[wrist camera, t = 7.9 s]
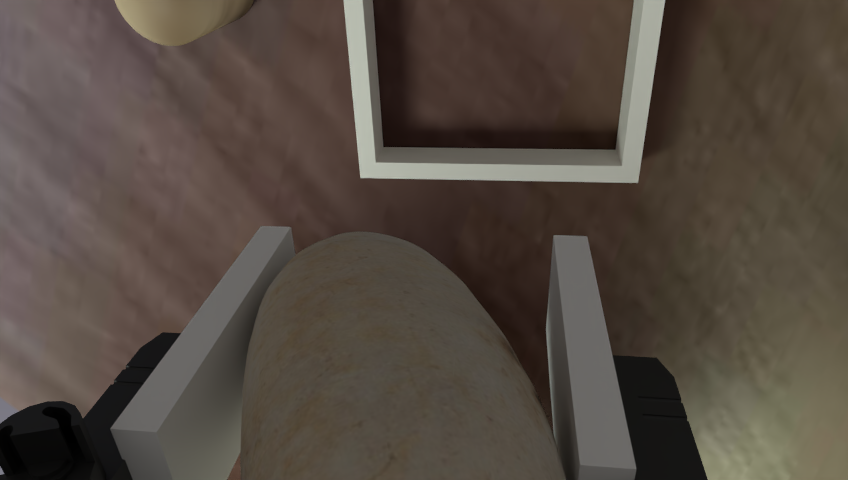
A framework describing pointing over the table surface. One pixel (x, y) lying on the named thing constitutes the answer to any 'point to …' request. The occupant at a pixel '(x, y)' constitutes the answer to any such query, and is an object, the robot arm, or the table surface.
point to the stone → (385, 375)
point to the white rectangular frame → (503, 161)
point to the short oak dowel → (180, 17)
